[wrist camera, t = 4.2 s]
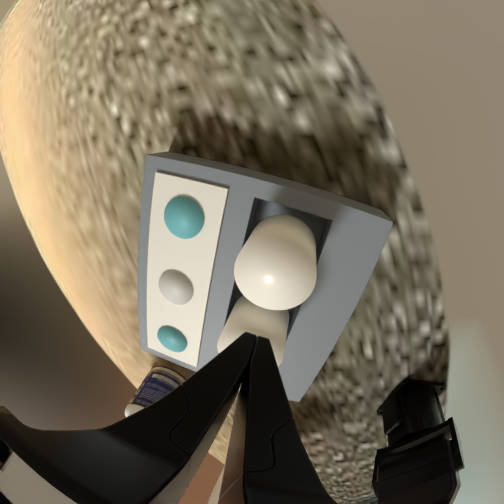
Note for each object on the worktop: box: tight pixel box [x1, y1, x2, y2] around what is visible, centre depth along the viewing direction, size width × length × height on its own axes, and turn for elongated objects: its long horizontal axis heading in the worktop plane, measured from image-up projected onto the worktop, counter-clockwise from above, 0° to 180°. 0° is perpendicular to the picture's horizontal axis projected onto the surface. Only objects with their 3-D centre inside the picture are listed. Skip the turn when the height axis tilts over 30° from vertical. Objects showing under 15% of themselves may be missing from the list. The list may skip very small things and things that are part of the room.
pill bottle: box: [125, 367, 185, 417], centre depth 25 cm, size 5×5×10 cm
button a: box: [234, 214, 317, 310], centre depth 15 cm, size 4×4×4 cm
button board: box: [138, 152, 393, 402], centre depth 20 cm, size 16×18×3 cm
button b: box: [217, 295, 289, 367], centre depth 17 cm, size 4×4×4 cm
